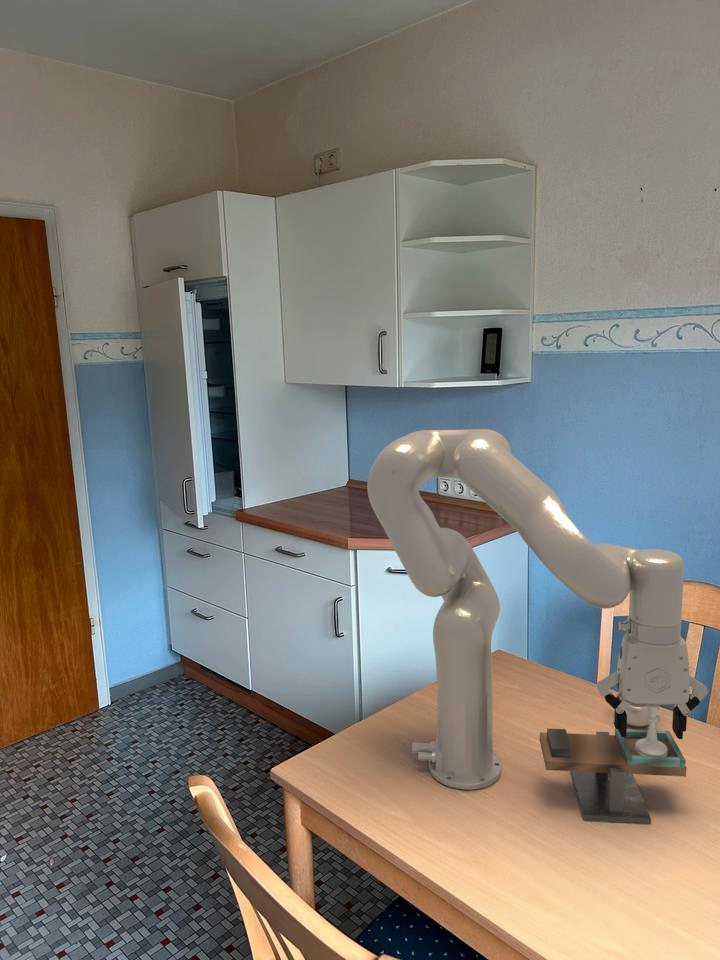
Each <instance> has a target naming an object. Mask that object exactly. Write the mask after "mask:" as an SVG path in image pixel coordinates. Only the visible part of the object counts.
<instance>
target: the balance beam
mask: <svg viewBox="0 0 720 960" xmlns="http://www.w3.org/2000/svg"><path fill="white" fill-rule="evenodd" d="M647 732H648V729H635V728H634V729H632V728H631V729H630V728H629V729H627V731H626V736H625V737H621V735H620V733H619V730H618V729H615V728H614V735H613V734H609V735H596V734H591V733H590V734H589V733H569V732H567V729H565V728H546V732H543V731H540V732H539V743H540V744H539V745H540V749H541V752H542V753H541V754H542V757H543V761H544V767H545V770H546V771H559V772H562V771H563V772H570V771H577V772H599V773H609V768H623V770H624V774H633V775H641V776H643V775H646V776H665V777H687V766H686V763H687V762H686V759H685V756H684V755H683V753H682V751H681V749H680V747H679V746H678V744H677V742H676V740H675V738H674V737H673V735H672V733H671V731H670V730H661V729H660V730H657V729H656V732H657V740H658V741H660V742H662V743H663V744H664V745H665V746H666V747H667V751H668V755H667V756H666V757H658V756H642V755H640V754H638V753H637V752H636V750H635V743H636V742H637V741H638V740H640V739H645V738H646V736H647Z"/></svg>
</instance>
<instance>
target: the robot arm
mask: <svg viewBox="0 0 720 960" xmlns="http://www.w3.org/2000/svg"><path fill="white" fill-rule="evenodd" d="M431 478H458V479H459V480H460V481H461V482H462V483H463V484H464V485H465V486H466V487H467V488H468V489H470V490H471V492H472V493H473V494H475V495H476V496H477V497H478V498H480V499H481V500H482V501H483V502H484V503H485V504H486V505H487V506H489V507H490V508H491V509H492V510H494V512H495V513H497V514H498V516H500V517H501V518H502V519H503V520H505V522H507V524H509V525H510V526H511V527H512V528H513V529H514V530H516V532H517V533H518V535H519V536H520V537H521V538H522V540H523V541H524V542H525V544H526V545H527V546H528V547H529V548H530V549H531V550H532V552H533V553H534V555H535V556H536V557H537V558H538V560H539V561H540V562H541V563H542V564H543V565H544V567H546V568H547V570H548V571H550V573H551V574H552V575H553V576H554V577H556V579H557V580H559V581H560V582H561V583H562V584H563V585H564V586H565V587H567V588H568V589H569V590H570V591H571V592H572V593H573V594H574V595H576V596H577V597H578V598H579V599H581V600H582V601H583V602H584V603H586V604H587V605H589V606H592V607H595V608H597V609H613V608H615V607H618V606H619V605H621V604H622V603H623V602H624V601H625V600H626V599H627V597H628V595H629V598H628V599H629V601H628V602H629V603H628V606H629V607H628V615H627V619H626V620H624V621H619V622H618V630H619V631H624V632H625V633H624V635H623V637H622V640H621V644H620V649H619V653H618V660H617V667H616V669H617V670H616V671H615V672H612V673H611V674H609V675H608V676H606V677H604V678H603V679H601V680H599V681H597V682H596V683H595V686H596V689H597V691H598V692H599V693H600V695H601V696H602V698H603V699H604V700H605V702H606V703H607V704H608V705H609V706H610V707H611V708H612V709H614V717H613V724H614V730H615V729H618V730H619V733H620V735H621V737H625V736H626V731H627V727H628V724H627V714H626V712H625V709H626V708H627V707H628V705H629V704H630V703H633V704H655V705H660V706H662V705H663V706H664V705H666V706H673V708H672V723H671V725H672V726H671V728H672V731H673V733H674V735H675V736H676V738H677V739H678V740H683V738H684V732H687V721H688V716H690V715H691V711H692V710H694V709H696V707H697V706H699V705H700V702H701V701H702V700H703V699H704V698H705V697H706V696H707V695H708V693H709V688H708V687H707V686H706V685H705V684H704V683H702V682H701V681H699V680H697V679H696V678H694V677H693V676H691V674H690V661H689V652H688V646H687V645H688V644H687V641H686V639H684V638H683V637H682V636H681V634H682V633H681V632H682V615H683V598H684V597H683V596H684V594H683V593H684V578H685V563H684V559H683V558H682V556H681V555H679V554H678V553H675V552H673V551H671V550H666V549H660V548H645V549H637V548H632V547H628V546H627V547H626V546H623V545H620V544H619V545H618V544H612V543H605V542H603V543H596V544H593V543H592V542H591V541H590V540H589V539H588V538H587V537H586V536H585V535H584V534H583V533H582V531H580V529H579V528H578V527H577V526H576V525H575V523H574V522H573V521H572V520H571V518H570V516H569V515H568V513H567V511H566V510H565V507H564V505H563V504H562V502H561V500H560V498H559V497H558V496H557V494H556V492H555V491H554V490H553V489H552V488H551V487H550V486H549V485H548V484H547V483H545V482H544V481H542V480H541V479H540V478H539V477H538V476H537V475H536V474H534V473H533V472H532V470H530V469H529V468H528V467H526V466H525V465H524V464H523V463H522V462H521V461H520V460H519V459H518V458H516V456H514V455H513V454H512V449H511V445H510V443H509V440H507V438H505V436H503V435H502V434H501V433H499V432H498V431H496V430H493V429H488V428H487V429H486V428H475V429H474V428H473V429H427V430H425V429H423V430H416V431H413V432H410V433H408V434H406V435H404V436H401V437H399V438H397V439H395V440H393V441H392V442H390V443H389V444H388V445H387V446H386V447H385V448H383V449H382V450H381V451H380V453H379V454H378V455H377V456H376V459H375V460H374V461H373V464H372V465H371V468H370V471H369V473H368V476H367V486H366V487H367V490H366V491H367V496H368V500H369V503H370V506H371V508H372V509H373V512H374V514H375V516H376V517H377V519H378V521H379V523H380V524H381V527H382V528H383V530H384V532H385V533H386V535H387V538H388V539H389V541H390V543H391V546H392V548H393V549H394V552H395V553H396V555H397V557H398V558H399V560H400V563H401V564H402V566H403V569H404V570H405V572H406V574H407V576H408V579H410V581H411V583H412V584H413V587H415V588H416V590H417V591H419V593H421V594H423V595H424V596H427V597H430V598H438V597H441V598H442V599H443V603H442V604H441V606H440V608H439V609H438V611H437V614H436V616H435V619H434V622H433V627H432V628H433V629H432V641H433V648H434V654H435V656H434V657H435V671H436V672H435V673H436V679H435V680H436V726H437V731H436V734H437V735H436V736H435V741H429V742H430V743H426V742H416V741H415V742H414V741H413V742H412V743H411V744H412V745H411V753H412V754H413V755H418V756H417V757H418V758H417V759H418V761H421V762H422V761H428V769H429V772H430V774H431V775H432V777H433V778H434V779H435V780H436V781H437V782H439V783H441V784H443V785H445V786H447V787H450V788H453V789H457V790H468V791H470V790H479V789H484V788H487V787H489V786H491V785H493V784H495V783H496V782H497V781H498V780H499V779H500V777H501V775H502V770H503V769H502V768H503V767H502V765H503V764H502V762H501V759H500V758H499V757H498V755H497V754H496V753H494V752H493V751H494V750H493V747H494V746H493V743H494V742H493V738H494V737H493V736H494V735H493V733H494V731H493V727H494V725H493V724H494V723H493V720H494V719H493V718H494V717H493V716H494V713H493V712H494V711H493V708H494V707H493V706H494V702H493V701H494V700H493V698H494V695H493V694H494V693H493V690H494V689H493V686H494V685H493V678H494V677H493V657H492V639H493V637H492V636H493V633H494V630H495V628H496V625H497V621H498V619H499V615H500V609H501V604H500V600H499V596H498V594H497V591H496V589H495V588H494V585H493V583H492V581H491V580H490V578H489V576H488V574H487V573H486V571H485V569H484V567H483V565H482V563H481V562H480V559H479V558H478V556H477V553H476V552H475V551H474V548H473V547H472V545H471V543H469V540H467V539H466V537H465V536H463V534H461V533H460V532H458V531H456V530H454V529H452V528H448V527H440V525H439V523H438V522H437V519H436V518H435V516H434V513H433V512H432V509H431V508H430V507H429V506H428V505H427V503H426V502H425V500H423V498H422V497H421V494H420V488H421V486H422V485H423V484H424V483H426V482H427V481H429V480H430V479H431ZM615 685H616V688H617V689H618V690H619V691H618V692H617V694H616V695H614V694H613V693H612V692H611V691H610V689H611V688H612V687H614V686H615ZM690 688H691V689H693V691H692V693H690V691H691V689H690Z"/></svg>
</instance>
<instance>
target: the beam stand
mask: <svg viewBox="0 0 720 960" xmlns="http://www.w3.org/2000/svg"><path fill="white" fill-rule="evenodd" d="M595 735H610V732H609V731H596V732H595ZM569 773H570V776H571V777H570V778H571V780H572V784H573V786H574V788H573V789H574V792H575V795H576V798H577V802H578V806H579V809H580V813H581V817H582V820H583V822H594V823H595V822H598V823H617V824H633V825H634V824H636V825H637V824H638V825H639V824H640V825H651V822H652V818H651V815H650V813H649V811H648V809H647V806H646V803H645V801H644V799H643V796H642V794H641V791H640V789H639V787H638V784H637V782H636V780H635V777H634V774H624V770H623V768H609V773H599V772H577V771H569Z"/></svg>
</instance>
